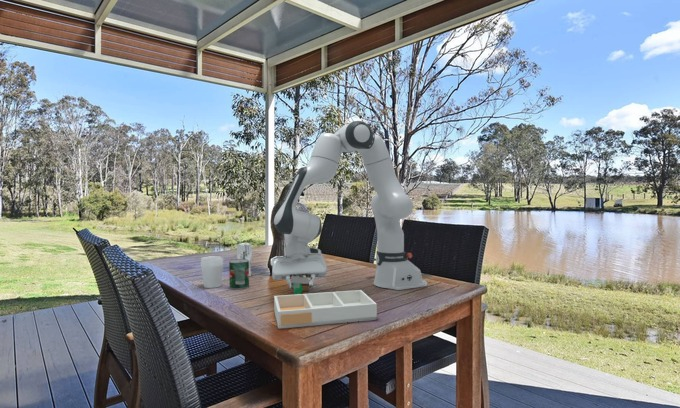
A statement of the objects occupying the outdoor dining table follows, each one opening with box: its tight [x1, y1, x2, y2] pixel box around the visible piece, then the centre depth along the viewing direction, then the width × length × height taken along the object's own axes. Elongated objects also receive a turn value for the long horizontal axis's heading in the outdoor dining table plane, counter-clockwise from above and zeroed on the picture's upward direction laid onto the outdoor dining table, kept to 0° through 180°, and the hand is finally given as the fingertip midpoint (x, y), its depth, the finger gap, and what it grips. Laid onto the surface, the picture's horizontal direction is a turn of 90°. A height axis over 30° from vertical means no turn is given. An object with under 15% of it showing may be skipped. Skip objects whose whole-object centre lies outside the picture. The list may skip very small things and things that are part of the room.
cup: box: [200, 255, 224, 289], centre depth 157 cm, size 9×9×12 cm
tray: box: [273, 289, 378, 330], centre depth 121 cm, size 30×17×5 cm, turn 104°
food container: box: [290, 274, 310, 295], centre depth 135 cm, size 12×6×10 cm, turn 6°
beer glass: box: [236, 242, 253, 278], centre depth 176 cm, size 7×7×15 cm
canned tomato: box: [228, 259, 250, 290], centre depth 156 cm, size 8×8×11 cm
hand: (301, 287), depth 135 cm, fingers closed on food container, 5 cm apart
